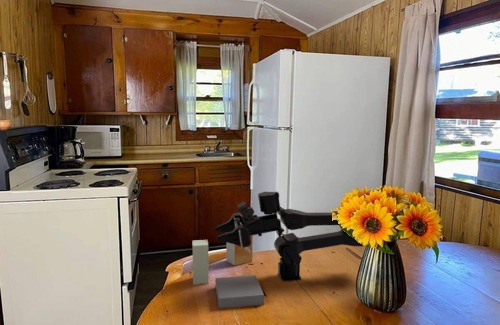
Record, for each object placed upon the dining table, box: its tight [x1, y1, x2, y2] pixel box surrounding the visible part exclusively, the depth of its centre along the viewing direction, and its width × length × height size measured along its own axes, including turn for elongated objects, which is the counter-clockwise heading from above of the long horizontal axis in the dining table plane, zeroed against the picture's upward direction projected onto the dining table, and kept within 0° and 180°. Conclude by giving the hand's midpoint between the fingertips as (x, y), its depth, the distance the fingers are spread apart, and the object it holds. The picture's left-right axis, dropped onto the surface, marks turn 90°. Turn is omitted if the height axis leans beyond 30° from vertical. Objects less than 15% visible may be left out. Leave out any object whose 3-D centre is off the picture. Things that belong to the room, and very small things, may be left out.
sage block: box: [191, 239, 210, 285], centre depth 115 cm, size 5×5×13 cm
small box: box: [225, 232, 254, 266], centre depth 131 cm, size 8×6×13 cm
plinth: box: [214, 274, 265, 309], centre depth 106 cm, size 13×13×3 cm
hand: (215, 233), depth 113 cm, fingers open, 9 cm apart
